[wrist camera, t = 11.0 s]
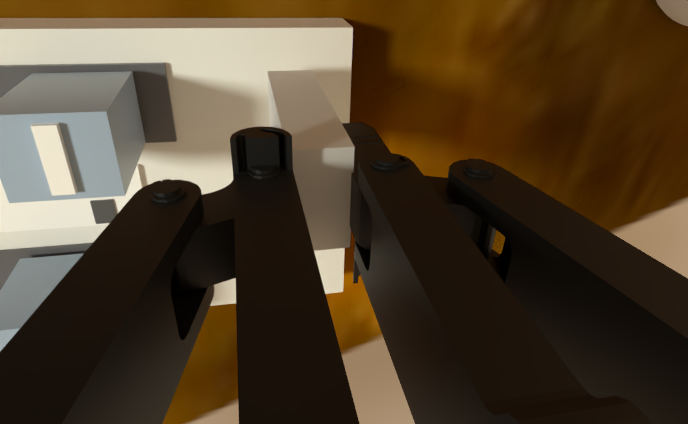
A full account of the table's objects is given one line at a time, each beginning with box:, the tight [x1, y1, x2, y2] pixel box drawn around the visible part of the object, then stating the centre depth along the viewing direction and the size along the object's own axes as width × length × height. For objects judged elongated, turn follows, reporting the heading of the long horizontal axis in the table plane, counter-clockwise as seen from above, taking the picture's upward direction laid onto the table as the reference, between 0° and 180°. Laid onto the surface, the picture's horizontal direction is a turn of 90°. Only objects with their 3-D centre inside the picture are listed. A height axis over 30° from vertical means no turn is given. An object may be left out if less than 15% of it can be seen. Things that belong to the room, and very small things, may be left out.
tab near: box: [0, 71, 146, 203], centre depth 15 cm, size 3×2×4 cm
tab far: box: [0, 253, 84, 351], centre depth 18 cm, size 3×2×4 cm
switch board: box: [0, 18, 353, 306], centre depth 19 cm, size 26×12×2 cm, turn 89°
